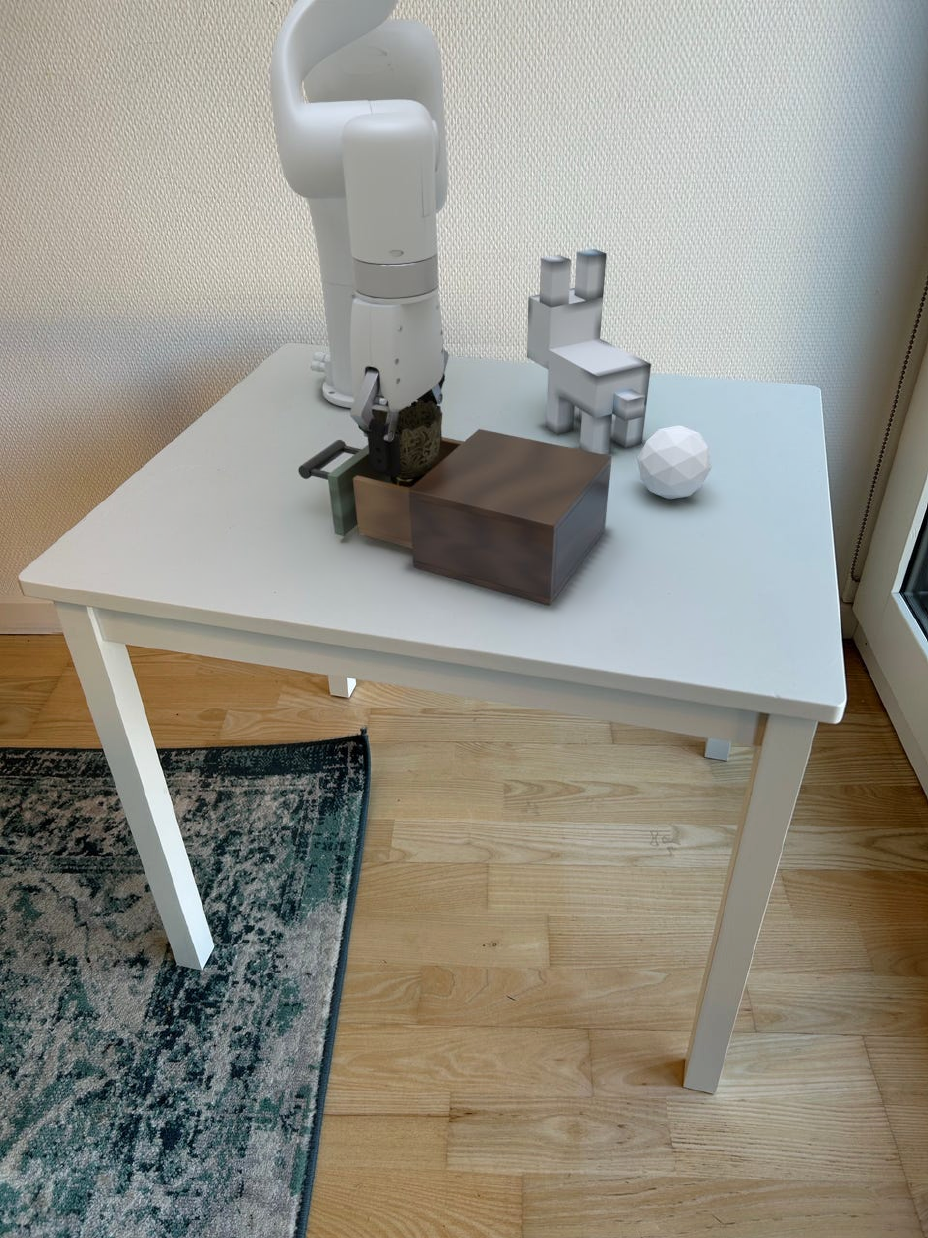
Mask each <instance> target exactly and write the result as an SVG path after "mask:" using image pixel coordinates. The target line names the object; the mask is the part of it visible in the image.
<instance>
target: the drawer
mask: <svg viewBox="0 0 928 1238" xmlns="http://www.w3.org/2000/svg"><path fill="white" fill-rule="evenodd" d="M464 441H465V440H464ZM464 441H463V440H459V439H454V438H450V437H444V436H442V440H441V442H440V446H439V453H438V457H437V460H436V462H435V464H434V466H433V467H432V468H431V470H432V469H433V468H434V467H435V466H437V465H438V464H439V463H440V462H441V461H442V460H444V459H445V458H446V457H447V456H448V455H449V454H451V453H452V452H453V451H454V450H455V449H456V448H457V447H459V446H460V445H461V444H462V443H463V442H464ZM343 454H348V455H349V454H350V455H352V456H350V457H349V458H348V459H346V460H345V461H344V462H343V463H341V464H340V465H339V466H337V467H336V468H334V469H333V470H332V471H325V470H322V469H324V468H325V467H326V466H328V465H329V464H330V463H332V462H334V460H336V459H337V458H339V457H340V456H342V455H343ZM431 470H430V471H431ZM430 471H428V472H427V473H429V472H430ZM297 472H298V474H299V476H300V477H301V478H302V479H305V480H309V479H310V478H311V477H314V478H315V477H316V478H319V479H323V480H327V482H328V490H329V498H330V505H331V506H330V507H331V515H332V521H333V530H334V534H335V535H338V536H341V537H346V536H347V535H348V534H349V533H350V532H352V531H353V530H354V529H355V528H356V527H358V528H357V531H358V534H359V535H363V536H366V537H369V538H373V539H376V540H377V539H378V540H381V541H384V542H388V543H392V544H395V545H398V546H403V547H407V548H410V549H412V540H411V525H410V509H409V493H408V490H409V489H410V488H407V487H403V486H399V485H395V484H392V482H391V479H390V477H391V476H387V475H382V474H378V473H374V472H372V470H371V467H370V456H369V445H368V444H367V445H366V446H364V447H362V448H358V447H353V446H349V445H347V444H346V442H345V441H344V440H343V439H337V440H335V441H334V442H332V443H331V444H329V445H328V446H327V447H325V448H324V449H323V450H321V451H320V452H318V453H317V454H315V455H314V456H312V457H311V458H309V459H308V460H307V461H305V462H304V463H303V464H301V465H300V466H299V467H298V471H297ZM427 473H425V474H427Z"/></svg>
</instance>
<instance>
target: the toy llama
mask: <svg viewBox="0 0 928 1238" xmlns="http://www.w3.org/2000/svg"><path fill="white" fill-rule="evenodd" d="M607 256H608V253H606V252H604V251H601V250H599V249H596V248H591V249H590V248H589V249H585V250H579V251H578V250H577V251H576V260H575V274H574V275H575V279H574V287H571V271H572V259H571V258H568V257H565V256H563V255H561V254H556V255H551V256H545V257H540V272H539V273H540V276H539V277H540V278H539V294H535V295H530V296H527V300H528V301H527V330H526V333H527V335H526V358H527V359H529V360H531V361H532V362H534V363H536V364H537V365H539V366H541V367H543V368H545V369H546V370H547V371H548V372H547V373H548V374H547V393H546V394H547V395H546V418H545V428H547V429H548V430H549V431H551V432H552V433H554V434H556V435H559V434H564V433H567V432H569V431H574V427H575V409H576V408H577V409H578V419H579V420H580V421H581V423H580V424H581V425H580V440H579V450H584V451H589V452H594V453H599V454H604V455H607V454H609V452H610V442H611V434H612V433H611V432H612V431H611V430H612V421H613V416H614V427H613V437H612V440H613V442H615V443H617V445H620V446H621V447H623V448H625V449H627V448H631V447H634V446H638V445H641V444H643V437H644V429H645V420H646V419H645V418H646V412H647V403H648V393H649V387H650V386H649V385H650V378H651V377H650V376H651V368H652V363H650V362H648V361H646V360H645V359H642V358H640V357H638V356H636V355H634V354H632V353H631V352H628V351H626V350H624V349H622V348H621V347H618V346H616V345H614V344H612V343H611V342H608V341H606V340H604V339H603V338H601V333H602V322H603V321H602V319H603V307H604V294H605V283H606V269H607Z"/></svg>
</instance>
